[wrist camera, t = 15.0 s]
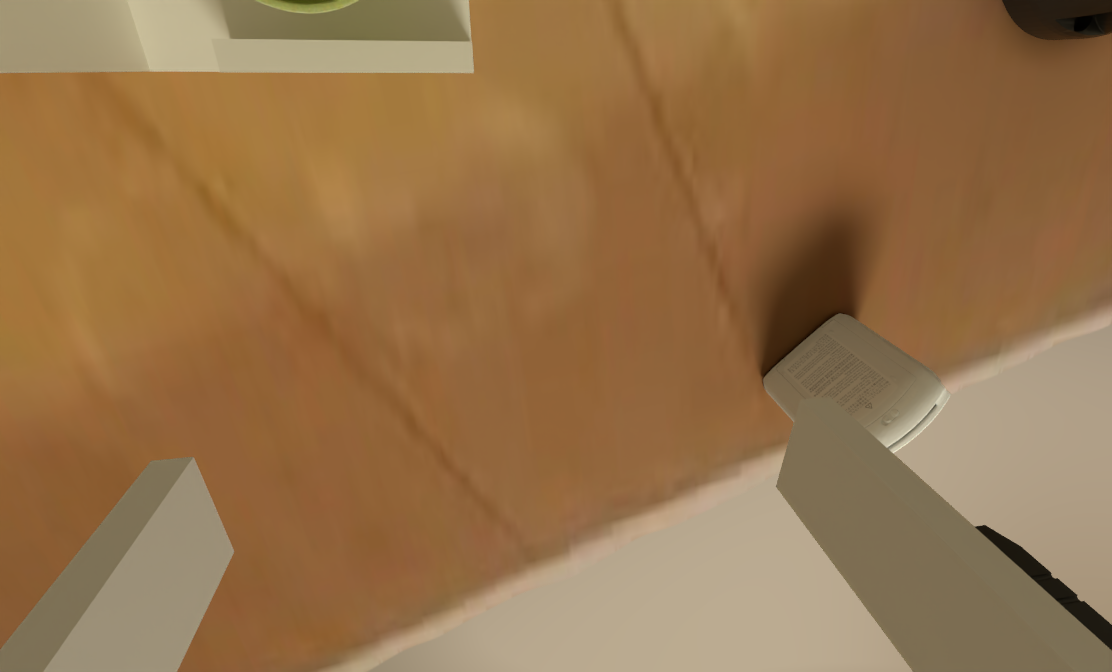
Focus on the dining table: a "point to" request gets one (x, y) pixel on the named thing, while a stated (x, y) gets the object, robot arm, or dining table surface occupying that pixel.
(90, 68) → the bracket shelf
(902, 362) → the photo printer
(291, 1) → the plant pot
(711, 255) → the dining table surface
